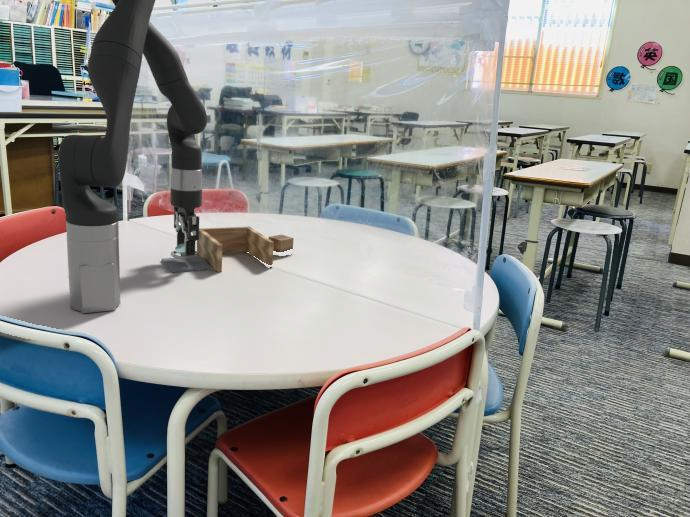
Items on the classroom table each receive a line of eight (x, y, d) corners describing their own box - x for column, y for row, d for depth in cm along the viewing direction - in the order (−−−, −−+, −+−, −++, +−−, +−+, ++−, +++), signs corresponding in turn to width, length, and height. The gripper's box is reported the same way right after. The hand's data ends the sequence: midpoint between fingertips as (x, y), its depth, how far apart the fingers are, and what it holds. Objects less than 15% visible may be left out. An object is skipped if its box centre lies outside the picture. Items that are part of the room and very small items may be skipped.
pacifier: (175, 262, 134) (199, 259, 137) (175, 237, 132) (199, 235, 135) (167, 253, 140) (190, 251, 143) (166, 230, 138) (189, 228, 141)
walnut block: (292, 254, 158) (293, 238, 156) (280, 257, 154) (281, 240, 152) (280, 250, 161) (281, 234, 159) (267, 253, 157) (268, 236, 155)
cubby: (272, 267, 144) (273, 242, 142) (217, 272, 136) (217, 245, 134) (248, 250, 158) (249, 226, 156) (196, 253, 150) (197, 228, 148)
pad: (211, 269, 138) (211, 267, 138) (171, 272, 133) (171, 270, 133) (199, 258, 146) (199, 256, 146) (161, 260, 141) (161, 258, 141)
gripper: (210, 192, 130) (209, 258, 135) (193, 181, 142) (192, 242, 146) (179, 192, 126) (178, 260, 131) (163, 181, 138) (163, 244, 142)
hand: (185, 250), depth 139 cm, fingers closed on pacifier, 7 cm apart
